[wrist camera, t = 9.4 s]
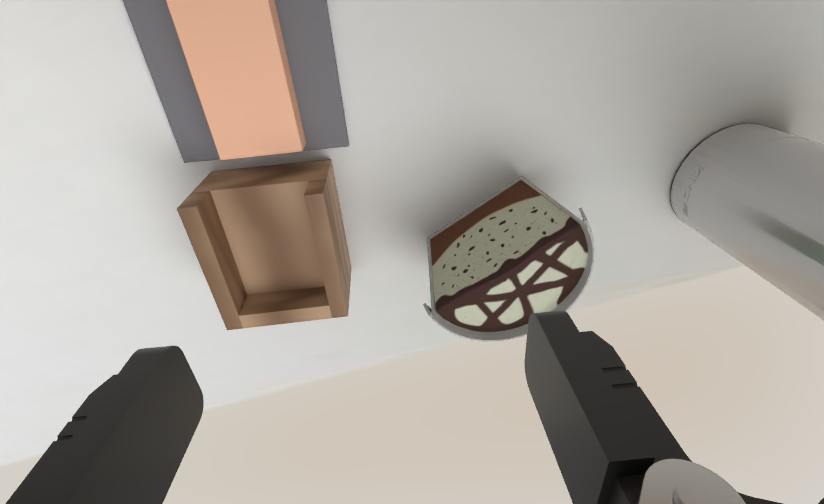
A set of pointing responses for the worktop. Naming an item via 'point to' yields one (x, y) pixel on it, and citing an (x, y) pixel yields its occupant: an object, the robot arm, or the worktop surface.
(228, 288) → the walnut box
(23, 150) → the worktop surface
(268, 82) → the cover plate
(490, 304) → the food container
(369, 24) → the worktop surface
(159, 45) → the charcoal mat
